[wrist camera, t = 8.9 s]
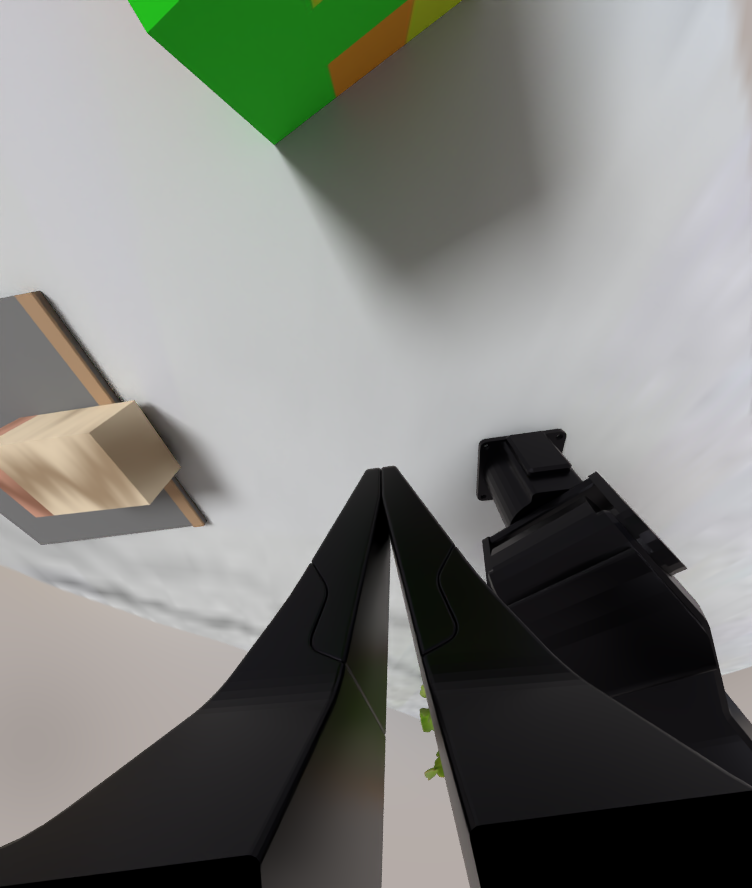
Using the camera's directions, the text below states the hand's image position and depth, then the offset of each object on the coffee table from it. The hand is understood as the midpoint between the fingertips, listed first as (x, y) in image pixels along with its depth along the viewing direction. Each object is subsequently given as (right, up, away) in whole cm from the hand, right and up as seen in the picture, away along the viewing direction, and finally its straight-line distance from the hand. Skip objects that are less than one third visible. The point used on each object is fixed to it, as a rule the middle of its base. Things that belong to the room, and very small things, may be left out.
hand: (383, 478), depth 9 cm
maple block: (-16, 0, +12) cm, 20 cm away
